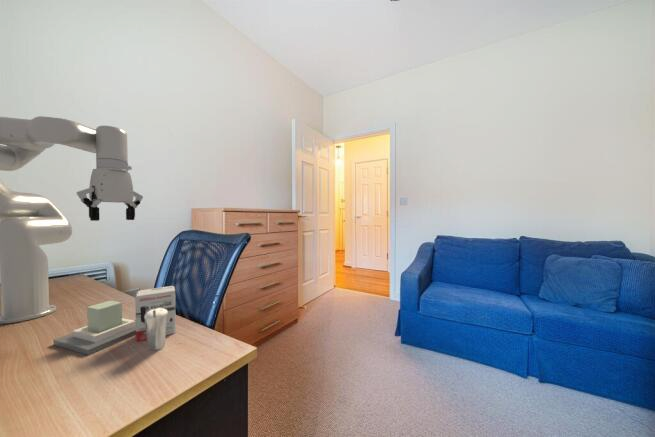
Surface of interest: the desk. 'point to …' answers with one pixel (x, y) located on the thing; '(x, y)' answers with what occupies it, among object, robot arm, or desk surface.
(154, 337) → the milkshake
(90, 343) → the baseplate
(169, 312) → the ink box
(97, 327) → the sage block
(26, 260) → the robot arm
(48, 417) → the desk surface
